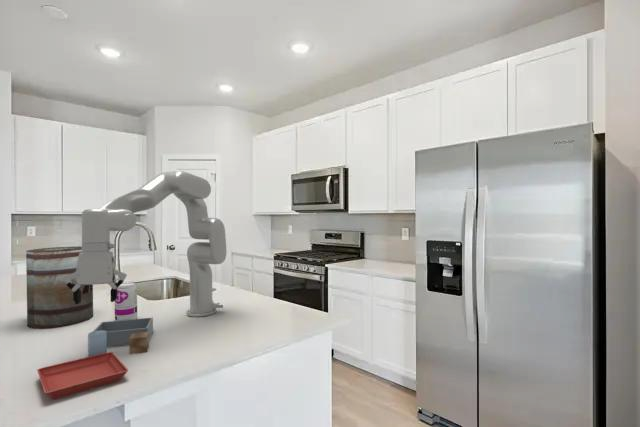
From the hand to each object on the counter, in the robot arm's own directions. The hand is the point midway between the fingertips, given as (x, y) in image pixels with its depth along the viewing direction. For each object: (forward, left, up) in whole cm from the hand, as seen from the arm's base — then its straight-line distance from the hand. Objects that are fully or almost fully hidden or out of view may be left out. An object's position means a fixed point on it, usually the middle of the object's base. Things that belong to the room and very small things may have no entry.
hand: (95, 302), depth 113 cm
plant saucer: (-1, +18, -17) cm, 25 cm away
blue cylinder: (0, 0, -17) cm, 17 cm away
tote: (-5, -13, -17) cm, 22 cm away
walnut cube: (-12, 0, -17) cm, 21 cm away
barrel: (+25, -47, -17) cm, 56 cm away
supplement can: (-1, -38, -17) cm, 42 cm away
